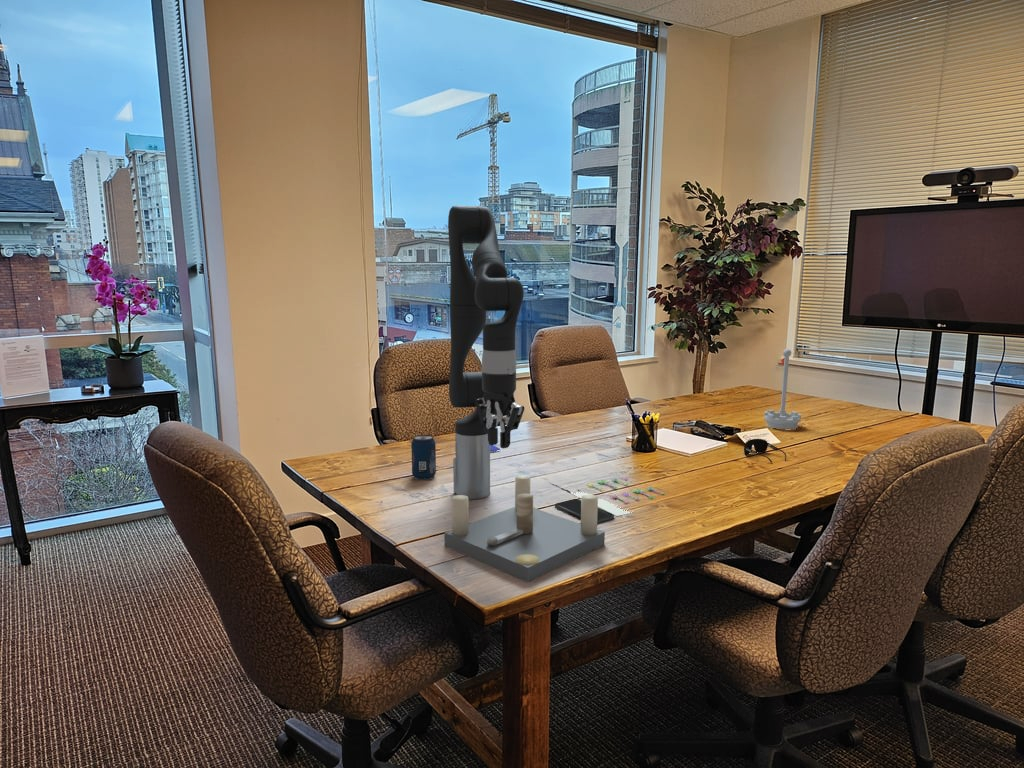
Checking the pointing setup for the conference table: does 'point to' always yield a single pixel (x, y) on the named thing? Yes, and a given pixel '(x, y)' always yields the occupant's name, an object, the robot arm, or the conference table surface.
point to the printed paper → (607, 505)
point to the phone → (574, 510)
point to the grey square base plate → (525, 536)
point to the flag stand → (783, 404)
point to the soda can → (423, 457)
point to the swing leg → (518, 520)
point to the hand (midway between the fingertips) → (499, 445)
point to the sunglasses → (759, 447)
